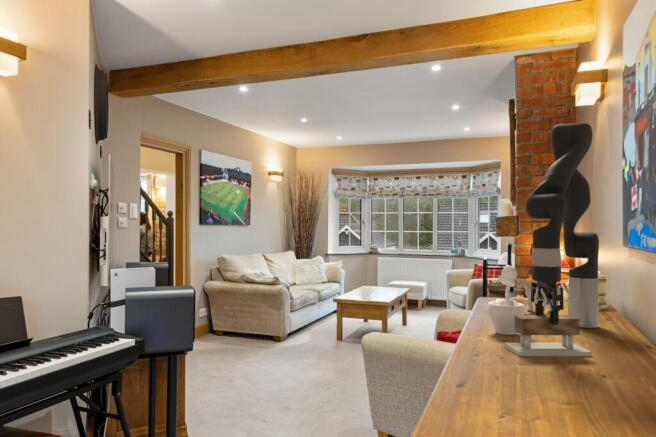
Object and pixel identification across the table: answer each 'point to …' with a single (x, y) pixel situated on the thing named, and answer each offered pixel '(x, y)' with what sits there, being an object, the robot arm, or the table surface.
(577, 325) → the walnut shelf board
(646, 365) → the table surface
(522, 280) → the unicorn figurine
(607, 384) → the table surface
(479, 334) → the table surface
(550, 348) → the peg stand
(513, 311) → the potted plant
